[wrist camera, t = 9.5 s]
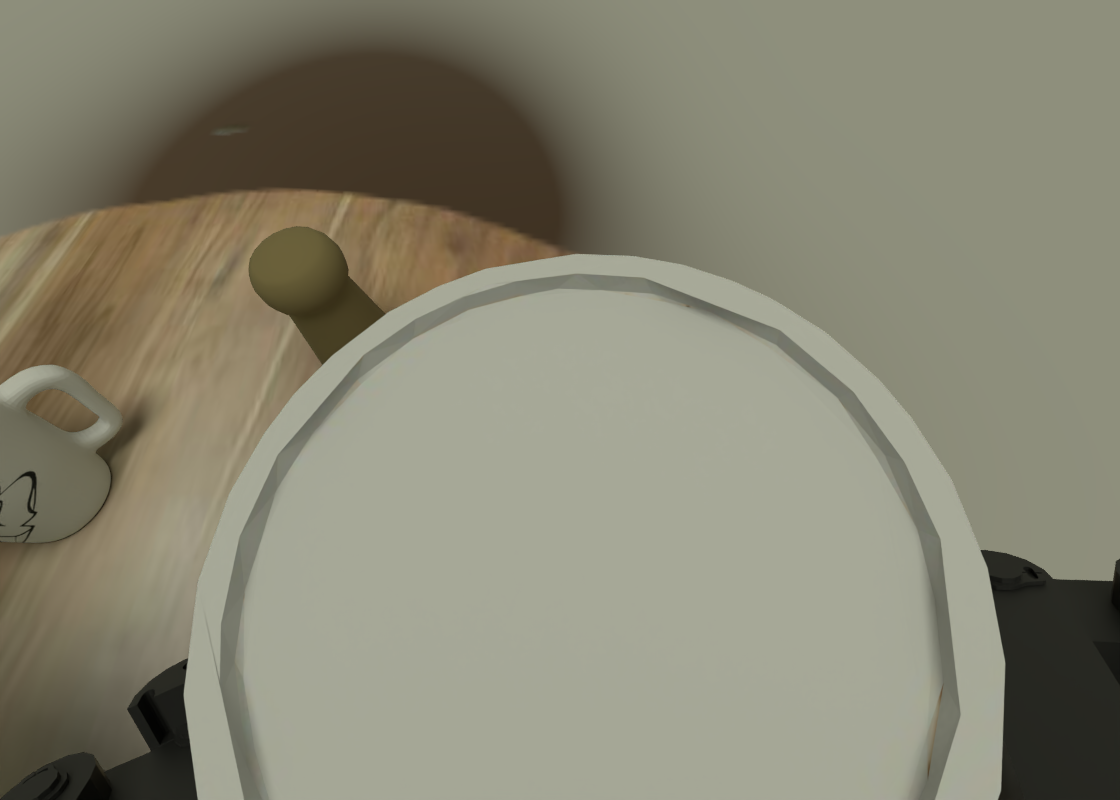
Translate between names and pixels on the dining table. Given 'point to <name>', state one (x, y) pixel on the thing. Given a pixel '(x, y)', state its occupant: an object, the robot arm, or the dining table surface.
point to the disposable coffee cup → (594, 563)
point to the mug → (50, 459)
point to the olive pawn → (312, 288)
